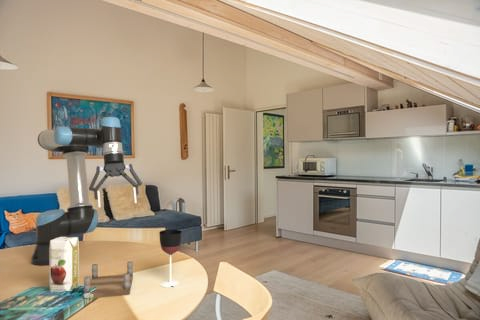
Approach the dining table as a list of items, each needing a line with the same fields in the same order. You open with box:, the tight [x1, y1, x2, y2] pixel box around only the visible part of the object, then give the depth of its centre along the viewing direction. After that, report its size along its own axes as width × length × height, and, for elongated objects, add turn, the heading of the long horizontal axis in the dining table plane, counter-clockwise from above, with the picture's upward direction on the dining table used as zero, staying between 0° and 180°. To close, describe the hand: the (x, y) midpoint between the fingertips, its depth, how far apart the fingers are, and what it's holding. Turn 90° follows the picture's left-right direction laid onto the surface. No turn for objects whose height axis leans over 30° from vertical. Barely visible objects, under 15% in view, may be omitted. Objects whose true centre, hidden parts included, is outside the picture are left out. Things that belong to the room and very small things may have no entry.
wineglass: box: [159, 229, 182, 288], centre depth 125 cm, size 8×9×20 cm
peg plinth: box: [83, 260, 134, 299], centre depth 121 cm, size 16×15×7 cm
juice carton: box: [48, 236, 80, 292], centre depth 119 cm, size 8×9×19 cm
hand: (117, 205), depth 131 cm, fingers open, 13 cm apart
